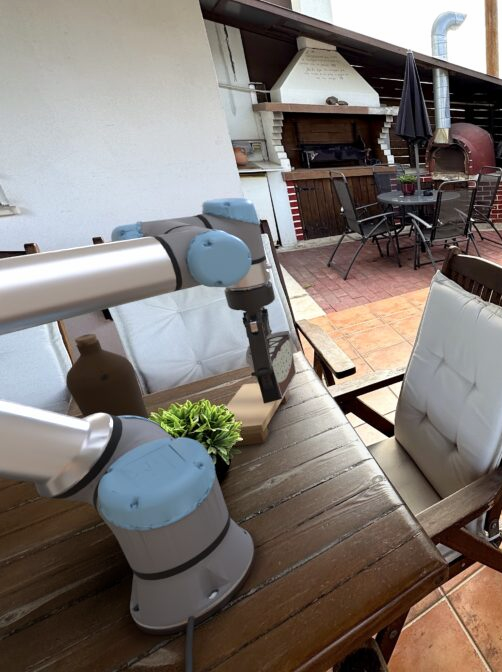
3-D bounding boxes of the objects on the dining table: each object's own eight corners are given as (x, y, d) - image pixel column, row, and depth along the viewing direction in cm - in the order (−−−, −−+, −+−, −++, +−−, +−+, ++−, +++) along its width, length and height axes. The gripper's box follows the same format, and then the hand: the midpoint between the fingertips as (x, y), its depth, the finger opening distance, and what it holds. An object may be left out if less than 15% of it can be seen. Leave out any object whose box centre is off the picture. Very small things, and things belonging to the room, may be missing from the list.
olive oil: (165, 417, 99) (131, 327, 90) (122, 448, 89) (80, 350, 80) (126, 415, 100) (89, 325, 91) (79, 446, 90) (33, 348, 81)
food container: (267, 372, 87) (257, 331, 84) (298, 369, 88) (289, 329, 85) (244, 407, 76) (232, 362, 72) (279, 403, 77) (269, 358, 74)
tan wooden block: (266, 442, 91) (261, 424, 89) (212, 448, 89) (206, 430, 87) (292, 395, 107) (288, 380, 106) (247, 400, 106) (243, 384, 104)
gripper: (271, 302, 65) (295, 411, 73) (271, 264, 85) (290, 353, 92) (216, 310, 62) (247, 424, 69) (229, 269, 81) (252, 361, 89)
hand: (272, 384), depth 81 cm, fingers closed on food container, 12 cm apart
